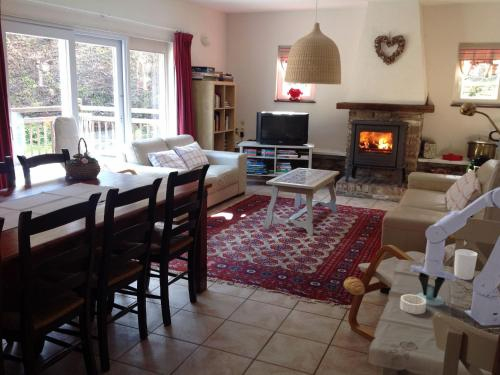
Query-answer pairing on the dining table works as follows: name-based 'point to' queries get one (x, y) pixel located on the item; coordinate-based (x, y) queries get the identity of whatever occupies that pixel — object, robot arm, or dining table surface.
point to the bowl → (413, 304)
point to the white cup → (464, 264)
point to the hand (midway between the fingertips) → (430, 295)
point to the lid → (432, 297)
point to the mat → (441, 305)
